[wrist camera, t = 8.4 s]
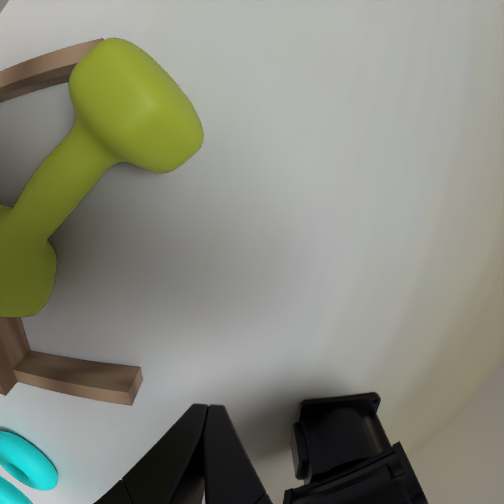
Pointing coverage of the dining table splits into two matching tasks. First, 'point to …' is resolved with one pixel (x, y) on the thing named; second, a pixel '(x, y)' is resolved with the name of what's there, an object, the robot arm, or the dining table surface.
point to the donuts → (23, 468)
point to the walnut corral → (10, 328)
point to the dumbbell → (93, 159)
